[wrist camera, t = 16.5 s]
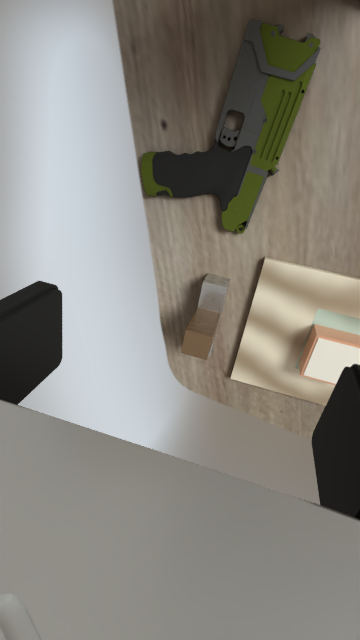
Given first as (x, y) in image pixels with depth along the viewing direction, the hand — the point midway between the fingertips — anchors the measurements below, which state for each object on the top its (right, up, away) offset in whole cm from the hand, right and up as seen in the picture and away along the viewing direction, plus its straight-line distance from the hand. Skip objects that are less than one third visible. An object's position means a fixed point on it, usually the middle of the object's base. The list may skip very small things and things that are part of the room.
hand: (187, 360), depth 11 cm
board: (+15, -1, +33) cm, 36 cm away
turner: (+4, +3, +35) cm, 35 cm away
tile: (+19, -3, +32) cm, 37 cm away
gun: (+4, +22, +26) cm, 34 cm away
